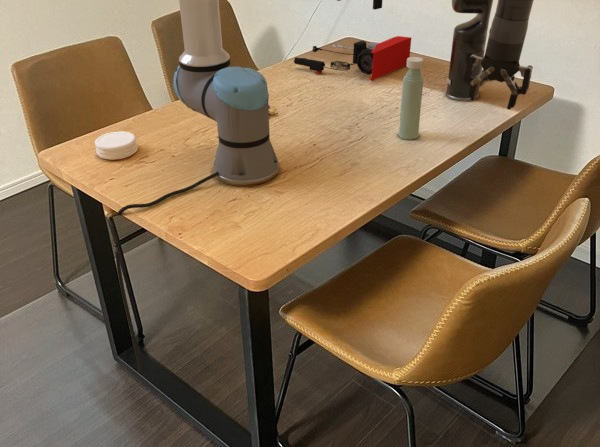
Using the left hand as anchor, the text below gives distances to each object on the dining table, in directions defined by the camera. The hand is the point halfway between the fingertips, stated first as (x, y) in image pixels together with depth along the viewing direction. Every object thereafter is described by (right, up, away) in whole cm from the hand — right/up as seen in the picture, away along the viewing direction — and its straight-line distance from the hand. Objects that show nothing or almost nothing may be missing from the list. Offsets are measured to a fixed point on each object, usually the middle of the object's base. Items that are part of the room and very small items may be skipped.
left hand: (358, 4), depth 166 cm
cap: (+12, -19, -15) cm, 27 cm away
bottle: (+12, -36, -5) cm, 38 cm away
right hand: (+29, -31, -22) cm, 47 cm away
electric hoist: (+2, -6, +43) cm, 44 cm away
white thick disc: (-62, -41, -11) cm, 75 cm away
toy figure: (-28, -27, +11) cm, 40 cm away
